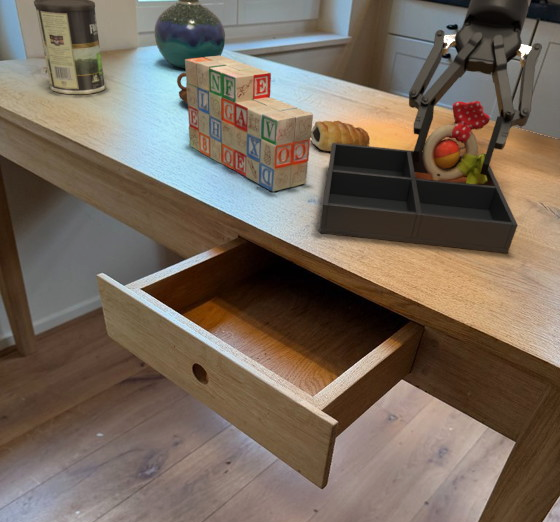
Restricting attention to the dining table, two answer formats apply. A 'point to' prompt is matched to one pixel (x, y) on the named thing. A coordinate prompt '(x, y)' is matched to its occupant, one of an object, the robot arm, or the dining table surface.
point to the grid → (411, 202)
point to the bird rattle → (457, 146)
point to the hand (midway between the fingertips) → (450, 162)
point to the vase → (188, 32)
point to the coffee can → (71, 45)
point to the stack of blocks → (246, 122)
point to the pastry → (337, 134)
